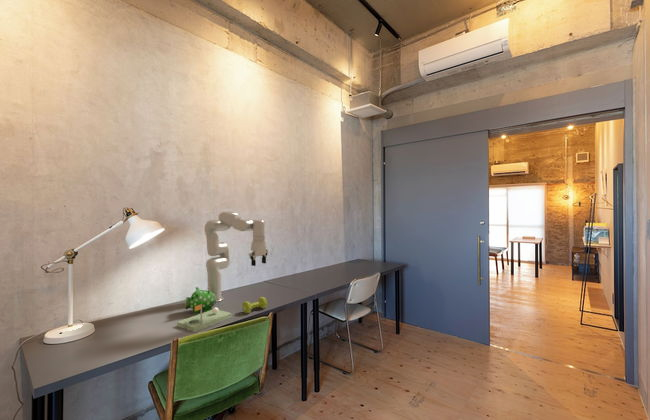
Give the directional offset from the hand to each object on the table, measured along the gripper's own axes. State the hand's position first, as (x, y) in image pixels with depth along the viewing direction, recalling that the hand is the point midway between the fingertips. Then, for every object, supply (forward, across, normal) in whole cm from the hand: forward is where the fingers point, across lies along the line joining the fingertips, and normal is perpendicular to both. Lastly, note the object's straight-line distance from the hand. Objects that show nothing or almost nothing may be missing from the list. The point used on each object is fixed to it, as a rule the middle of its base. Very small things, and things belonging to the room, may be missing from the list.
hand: (258, 264), depth 195 cm
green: (+31, +30, -15) cm, 46 cm away
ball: (+27, +23, -15) cm, 38 cm away
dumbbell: (+32, 0, -4) cm, 32 cm away
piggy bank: (+31, +20, -33) cm, 50 cm away
